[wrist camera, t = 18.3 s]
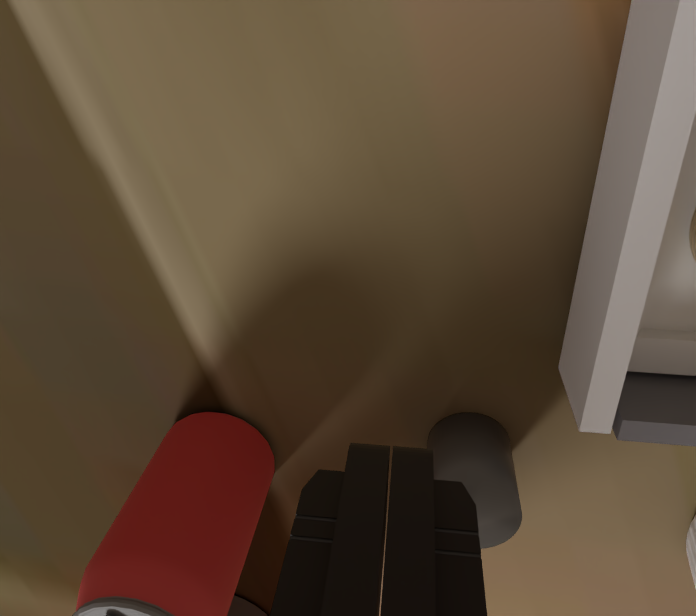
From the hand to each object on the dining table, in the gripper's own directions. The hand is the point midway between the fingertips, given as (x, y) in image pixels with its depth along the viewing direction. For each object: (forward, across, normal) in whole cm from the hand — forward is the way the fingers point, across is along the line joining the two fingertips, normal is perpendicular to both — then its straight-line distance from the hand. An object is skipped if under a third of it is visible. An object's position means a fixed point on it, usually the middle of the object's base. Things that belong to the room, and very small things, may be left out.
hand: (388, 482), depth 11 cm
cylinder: (+18, -4, +14) cm, 23 cm away
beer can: (+18, +10, +16) cm, 26 cm away
